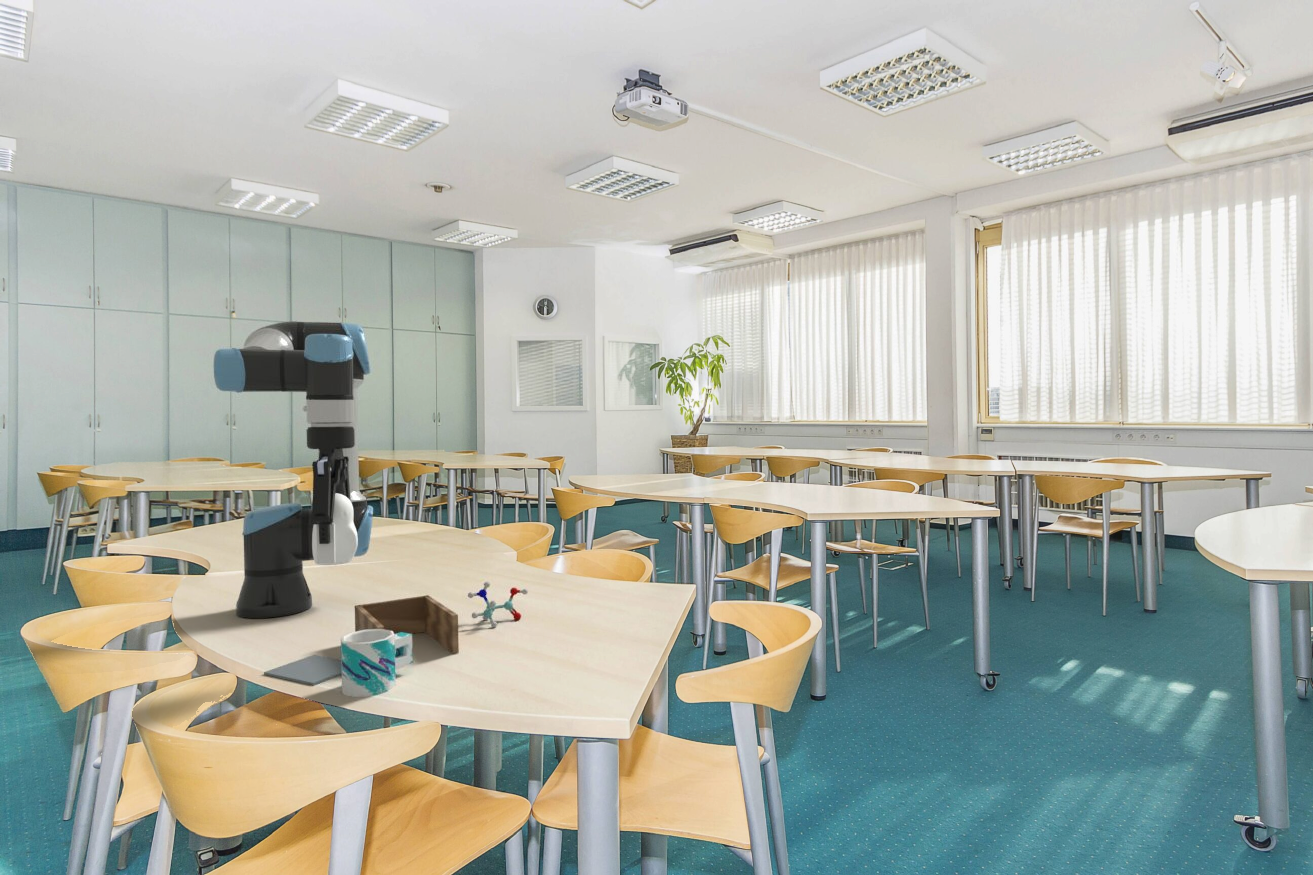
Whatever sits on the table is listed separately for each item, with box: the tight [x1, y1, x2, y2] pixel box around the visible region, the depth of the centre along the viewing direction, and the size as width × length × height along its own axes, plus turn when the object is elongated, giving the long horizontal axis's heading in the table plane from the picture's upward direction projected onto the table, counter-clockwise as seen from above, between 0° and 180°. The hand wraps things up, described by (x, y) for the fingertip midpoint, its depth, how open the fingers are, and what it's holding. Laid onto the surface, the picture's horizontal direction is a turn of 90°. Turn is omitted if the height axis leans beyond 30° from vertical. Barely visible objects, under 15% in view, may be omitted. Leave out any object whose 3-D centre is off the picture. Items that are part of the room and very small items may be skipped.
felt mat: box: [263, 654, 342, 686], centre depth 127 cm, size 12×10×1 cm
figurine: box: [312, 493, 358, 566], centre depth 128 cm, size 7×8×12 cm
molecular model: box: [467, 581, 529, 628], centre depth 156 cm, size 12×10×10 cm
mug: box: [340, 629, 414, 698], centre depth 121 cm, size 8×12×8 cm
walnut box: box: [354, 594, 460, 655], centre depth 139 cm, size 18×14×7 cm
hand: (333, 557), depth 128 cm, fingers closed on figurine, 8 cm apart
